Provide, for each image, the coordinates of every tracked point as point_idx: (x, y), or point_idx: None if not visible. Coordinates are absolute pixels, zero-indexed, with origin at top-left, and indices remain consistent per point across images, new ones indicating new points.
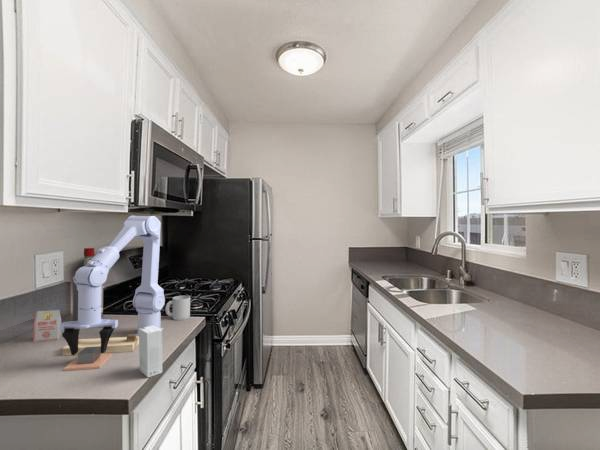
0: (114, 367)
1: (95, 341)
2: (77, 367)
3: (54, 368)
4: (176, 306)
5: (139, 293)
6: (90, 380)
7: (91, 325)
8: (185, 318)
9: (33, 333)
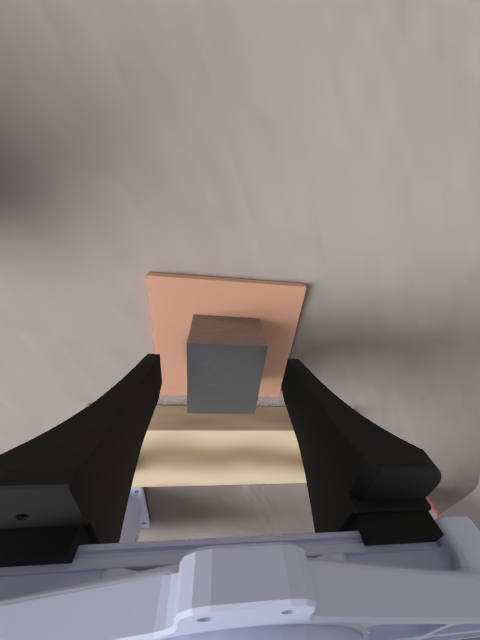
0: (76, 266)
1: (247, 466)
2: (249, 286)
3: (342, 315)
4: None
5: None
6: (122, 112)
7: (144, 611)
8: None
9: (440, 515)
